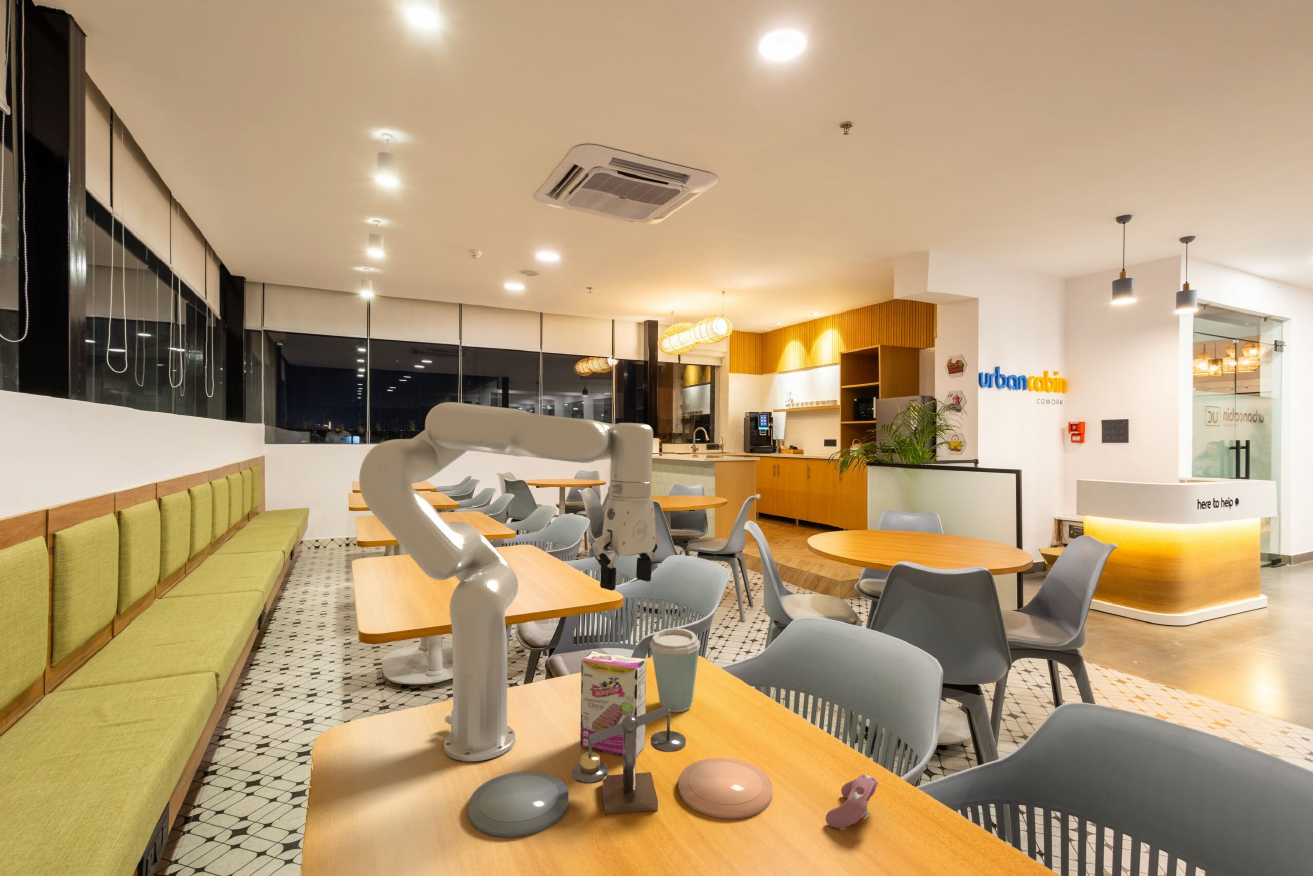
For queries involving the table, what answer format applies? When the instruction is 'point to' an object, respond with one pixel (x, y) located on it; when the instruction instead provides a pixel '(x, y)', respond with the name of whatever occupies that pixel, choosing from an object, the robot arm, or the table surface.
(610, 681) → the candy bar box
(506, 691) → the robot arm
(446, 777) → the table surface
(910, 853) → the table surface
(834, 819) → the pink curved piece
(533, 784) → the dish
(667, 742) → the balance
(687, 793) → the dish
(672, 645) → the disposable coffee cup
